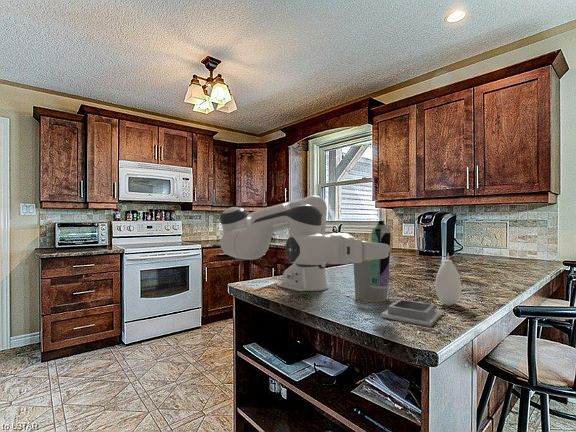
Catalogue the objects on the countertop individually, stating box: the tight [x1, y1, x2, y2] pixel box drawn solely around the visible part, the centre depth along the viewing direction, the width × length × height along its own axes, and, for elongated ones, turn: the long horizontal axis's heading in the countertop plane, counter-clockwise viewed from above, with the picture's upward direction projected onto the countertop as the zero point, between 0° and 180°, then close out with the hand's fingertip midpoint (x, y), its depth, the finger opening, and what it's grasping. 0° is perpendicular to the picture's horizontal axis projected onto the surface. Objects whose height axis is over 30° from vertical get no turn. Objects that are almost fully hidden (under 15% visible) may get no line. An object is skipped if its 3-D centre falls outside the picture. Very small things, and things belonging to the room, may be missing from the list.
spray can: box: [370, 220, 392, 290], centre depth 98 cm, size 6×6×20 cm
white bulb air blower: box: [434, 252, 462, 306], centre depth 113 cm, size 8×8×18 cm
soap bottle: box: [353, 240, 388, 303], centre depth 122 cm, size 13×13×21 cm
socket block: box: [380, 298, 443, 327], centre depth 100 cm, size 14×14×3 cm
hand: (383, 247), depth 99 cm, fingers closed on spray can, 5 cm apart
